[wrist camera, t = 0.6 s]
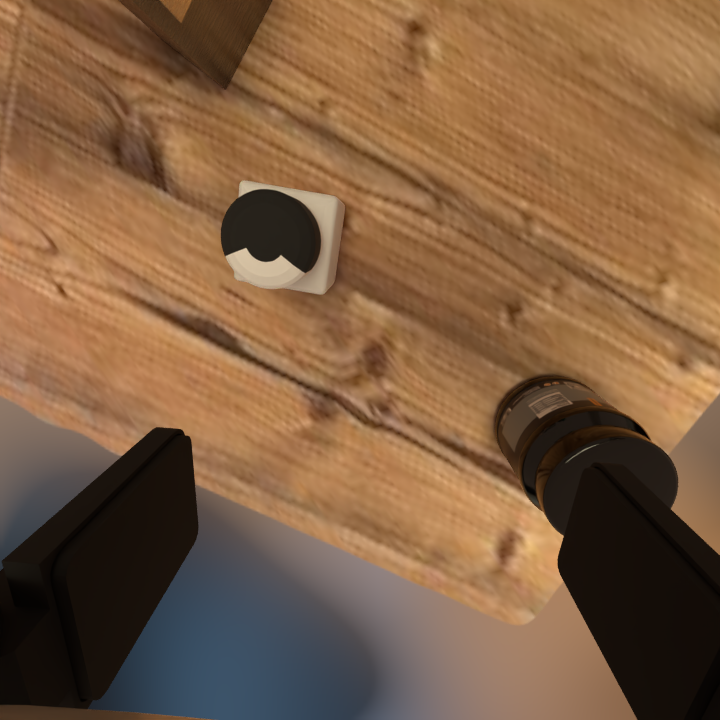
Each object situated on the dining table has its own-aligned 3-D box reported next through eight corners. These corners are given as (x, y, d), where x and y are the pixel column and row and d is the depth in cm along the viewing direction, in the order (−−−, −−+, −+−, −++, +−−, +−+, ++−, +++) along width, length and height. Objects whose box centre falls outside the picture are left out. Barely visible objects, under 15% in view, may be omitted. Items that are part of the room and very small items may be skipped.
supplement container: (559, 479, 42) (628, 571, 30) (473, 442, 41) (510, 523, 29) (618, 397, 38) (720, 466, 27) (526, 355, 38) (591, 408, 26)
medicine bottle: (265, 189, 34) (209, 167, 22) (346, 203, 34) (330, 188, 23) (259, 271, 36) (205, 289, 25) (334, 284, 36) (315, 307, 25)
